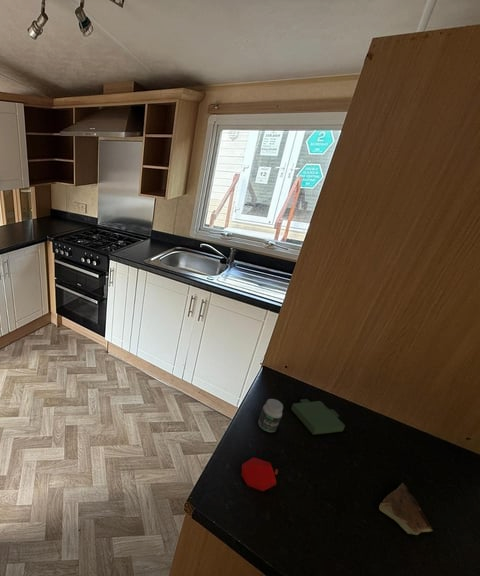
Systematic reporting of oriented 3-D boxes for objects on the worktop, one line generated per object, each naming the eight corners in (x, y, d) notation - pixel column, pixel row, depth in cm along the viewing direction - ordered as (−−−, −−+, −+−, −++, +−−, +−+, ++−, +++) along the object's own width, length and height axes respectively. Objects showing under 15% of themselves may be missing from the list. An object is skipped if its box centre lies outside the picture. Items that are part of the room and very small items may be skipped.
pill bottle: (258, 429, 87) (265, 407, 83) (257, 416, 91) (264, 395, 87) (277, 435, 85) (285, 413, 81) (275, 422, 89) (283, 400, 85)
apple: (240, 474, 70) (279, 472, 67) (235, 452, 76) (271, 449, 73) (247, 499, 71) (286, 499, 68) (242, 475, 77) (277, 474, 75)
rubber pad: (318, 402, 96) (320, 397, 95) (346, 430, 86) (349, 425, 85) (288, 405, 94) (290, 400, 93) (313, 434, 85) (315, 429, 84)
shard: (401, 485, 73) (404, 480, 72) (444, 518, 67) (448, 513, 66) (375, 507, 69) (378, 502, 68) (419, 543, 63) (423, 539, 62)
